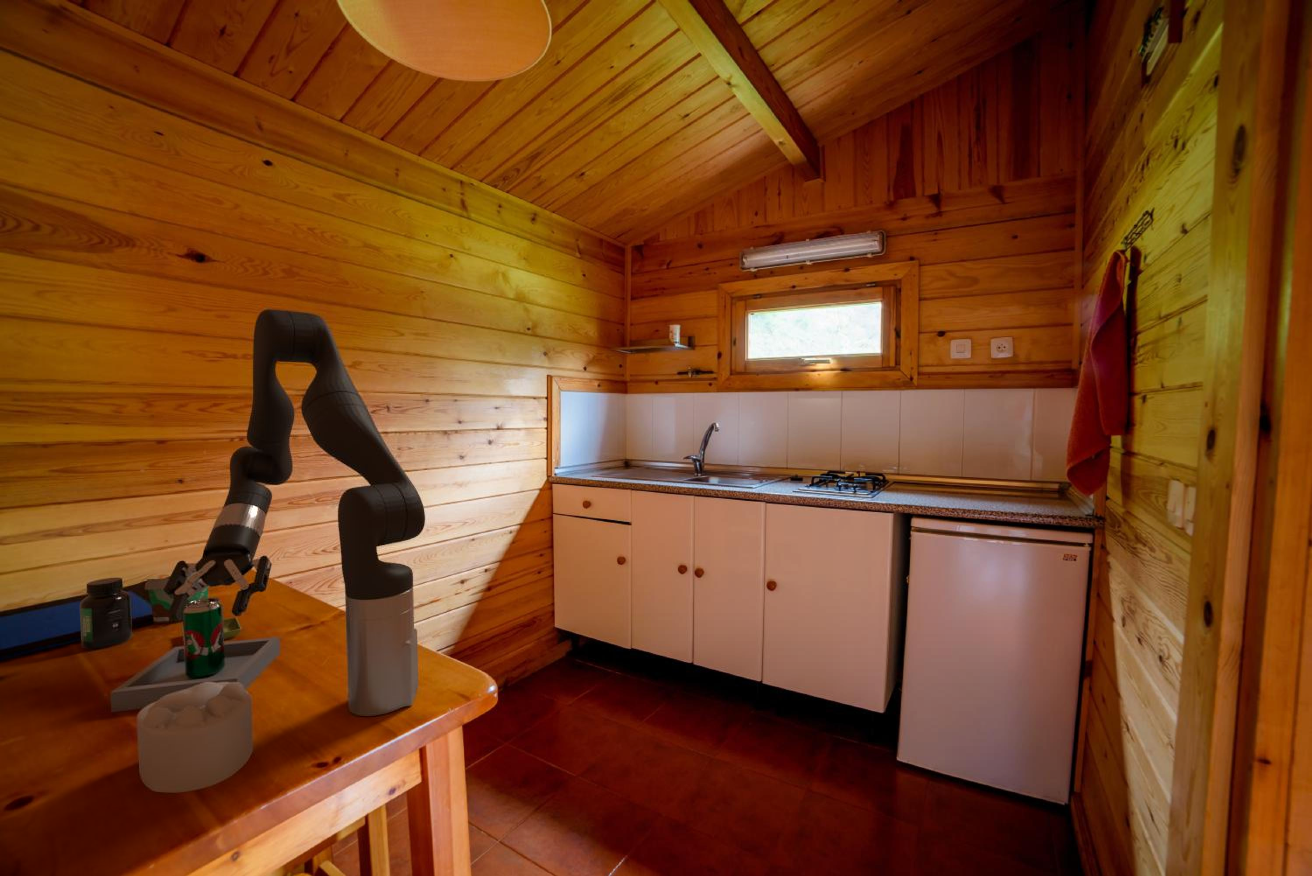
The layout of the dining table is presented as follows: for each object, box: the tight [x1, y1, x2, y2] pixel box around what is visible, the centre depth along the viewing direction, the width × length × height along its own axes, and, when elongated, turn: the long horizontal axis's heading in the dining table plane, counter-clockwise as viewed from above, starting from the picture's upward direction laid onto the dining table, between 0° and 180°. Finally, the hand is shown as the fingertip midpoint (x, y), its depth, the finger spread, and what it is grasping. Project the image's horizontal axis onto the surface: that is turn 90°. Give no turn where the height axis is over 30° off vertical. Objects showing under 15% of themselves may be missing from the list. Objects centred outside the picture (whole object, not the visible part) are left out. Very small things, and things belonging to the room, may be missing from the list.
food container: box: [144, 571, 210, 626], centre depth 116 cm, size 12×6×10 cm, turn 168°
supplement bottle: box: [79, 577, 133, 650], centre depth 104 cm, size 7×7×12 cm
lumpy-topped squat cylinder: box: [136, 682, 254, 794], centre depth 68 cm, size 10×13×9 cm
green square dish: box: [181, 616, 243, 642], centre depth 107 cm, size 9×9×2 cm
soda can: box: [182, 597, 225, 679], centre depth 89 cm, size 5×5×12 cm
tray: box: [110, 636, 281, 713], centre depth 89 cm, size 16×16×3 cm
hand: (206, 616), depth 90 cm, fingers open, 8 cm apart
